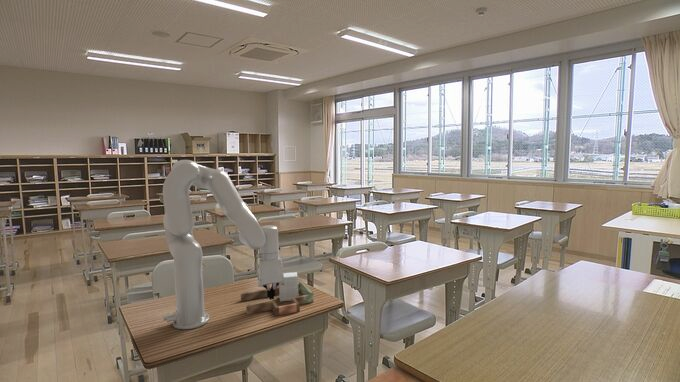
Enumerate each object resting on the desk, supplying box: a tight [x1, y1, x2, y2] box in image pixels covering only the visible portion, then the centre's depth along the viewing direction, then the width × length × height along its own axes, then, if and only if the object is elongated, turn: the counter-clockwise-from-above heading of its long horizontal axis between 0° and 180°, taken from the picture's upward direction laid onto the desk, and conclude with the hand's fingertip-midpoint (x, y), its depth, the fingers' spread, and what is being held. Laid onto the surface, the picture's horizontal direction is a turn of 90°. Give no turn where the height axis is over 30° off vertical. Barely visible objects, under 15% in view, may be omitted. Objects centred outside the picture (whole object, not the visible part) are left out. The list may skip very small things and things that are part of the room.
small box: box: [278, 271, 299, 302], centre depth 158 cm, size 8×6×10 cm
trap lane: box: [240, 280, 315, 316], centre depth 156 cm, size 27×28×4 cm
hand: (271, 298), depth 155 cm, fingers closed
